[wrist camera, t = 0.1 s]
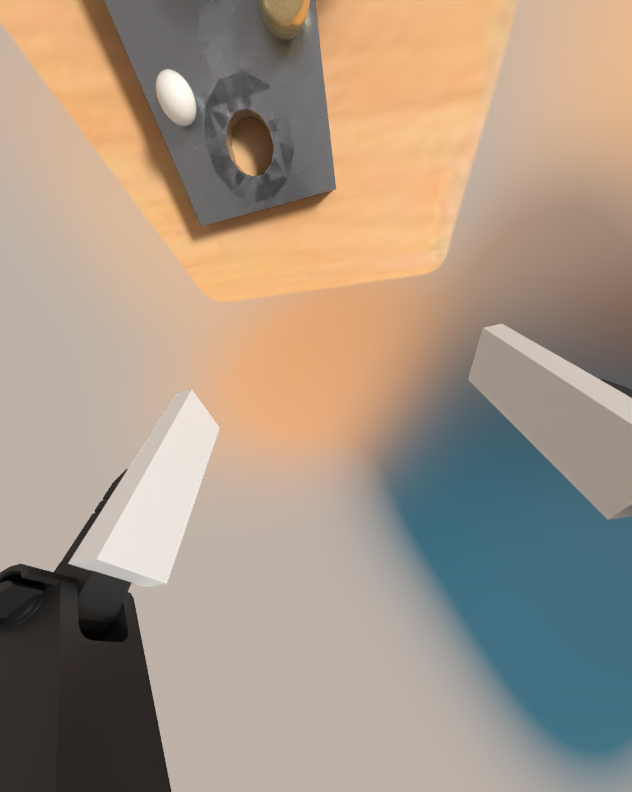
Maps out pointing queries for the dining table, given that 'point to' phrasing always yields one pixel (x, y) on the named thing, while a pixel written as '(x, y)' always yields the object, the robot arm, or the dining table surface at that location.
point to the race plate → (233, 98)
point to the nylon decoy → (176, 97)
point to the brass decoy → (284, 16)
